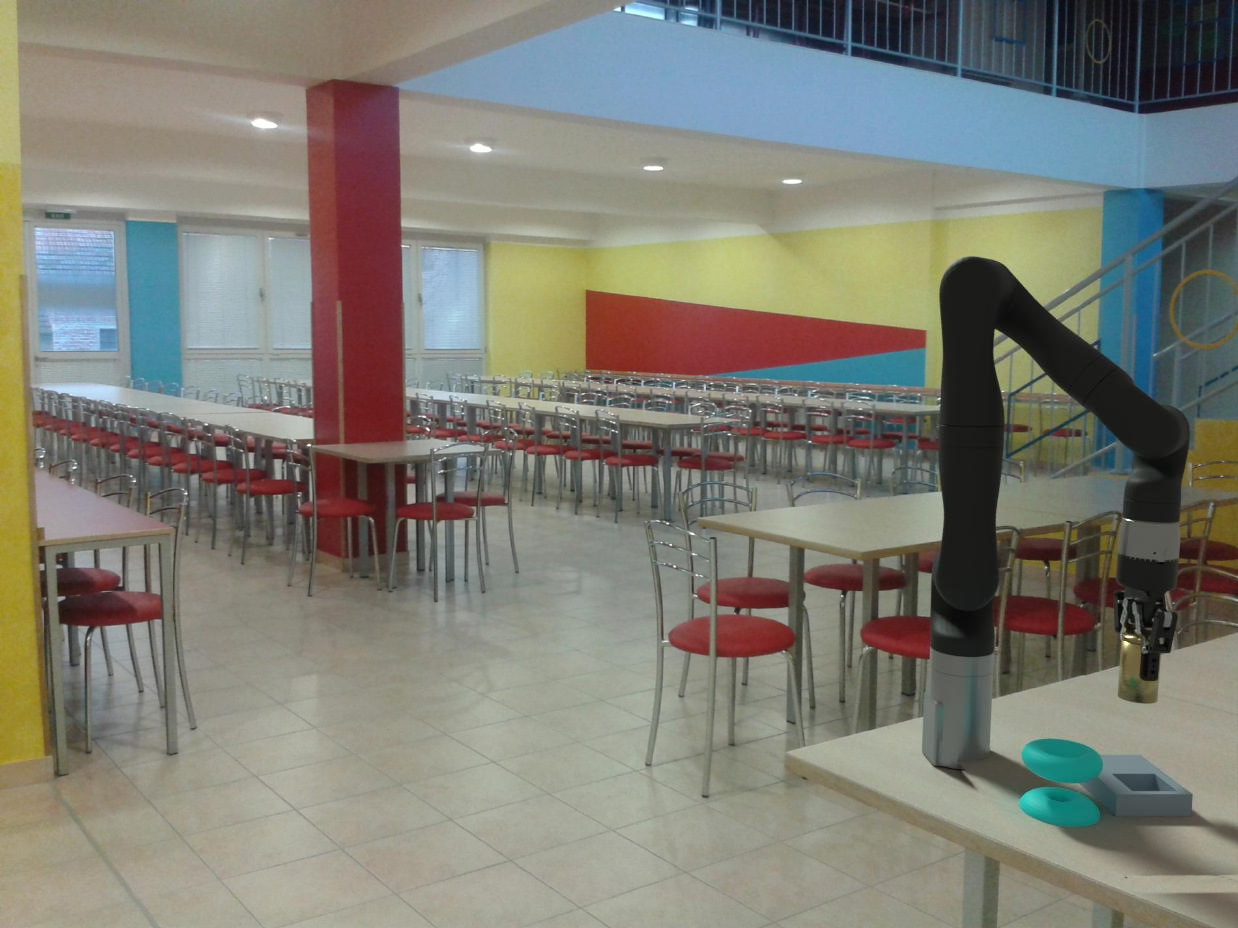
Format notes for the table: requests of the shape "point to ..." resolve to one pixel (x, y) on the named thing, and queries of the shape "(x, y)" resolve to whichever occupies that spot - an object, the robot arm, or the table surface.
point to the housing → (1138, 789)
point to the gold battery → (1134, 672)
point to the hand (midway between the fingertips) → (1139, 673)
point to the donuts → (1062, 766)
